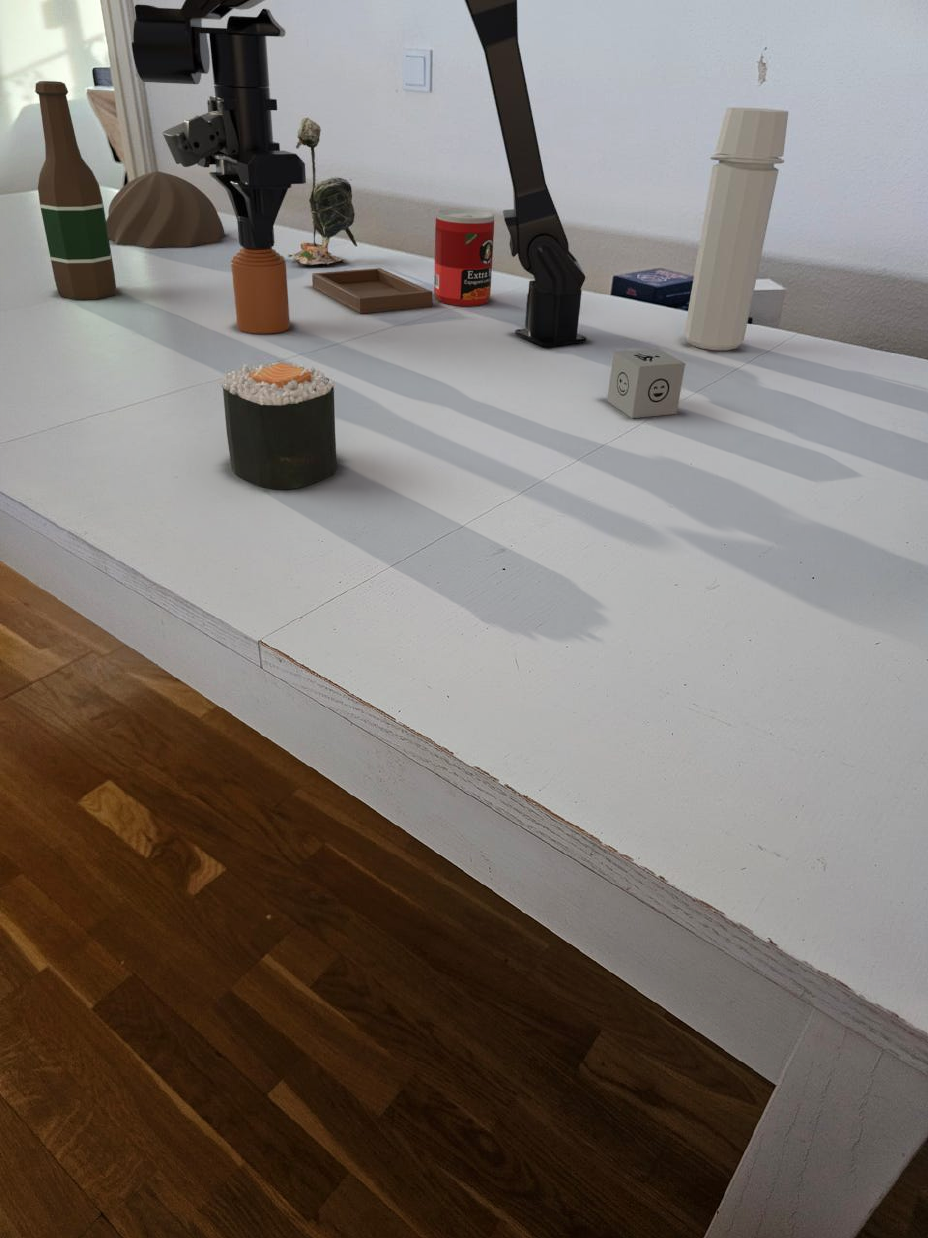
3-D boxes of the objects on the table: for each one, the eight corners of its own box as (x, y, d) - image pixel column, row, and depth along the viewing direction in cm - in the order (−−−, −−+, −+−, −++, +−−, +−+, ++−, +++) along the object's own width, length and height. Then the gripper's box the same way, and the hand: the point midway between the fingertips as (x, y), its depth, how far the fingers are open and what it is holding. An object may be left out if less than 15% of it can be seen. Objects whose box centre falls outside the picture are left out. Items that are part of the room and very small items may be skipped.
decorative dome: (105, 227, 158) (94, 163, 153) (220, 225, 164) (214, 164, 158) (102, 248, 143) (91, 178, 138) (230, 246, 148) (224, 179, 143)
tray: (432, 306, 120) (432, 291, 119) (360, 313, 115) (359, 298, 114) (380, 281, 131) (380, 267, 130) (312, 287, 126) (311, 273, 125)
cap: (279, 247, 103) (277, 217, 101) (246, 249, 101) (243, 218, 99) (267, 241, 106) (265, 211, 104) (235, 243, 104) (232, 213, 102)
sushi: (287, 441, 78) (281, 348, 74) (355, 467, 74) (353, 371, 69) (211, 467, 73) (199, 369, 68) (280, 497, 68) (272, 395, 64)
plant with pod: (365, 266, 139) (362, 119, 129) (291, 268, 136) (283, 117, 125) (354, 256, 146) (350, 115, 135) (283, 257, 143) (274, 113, 132)
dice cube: (607, 401, 90) (613, 351, 88) (650, 397, 92) (658, 348, 89) (631, 418, 86) (639, 366, 84) (676, 413, 88) (685, 362, 85)
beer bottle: (128, 288, 122) (96, 81, 109) (103, 301, 115) (66, 84, 102) (73, 284, 122) (34, 78, 109) (45, 298, 116) (0, 80, 103)
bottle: (297, 330, 107) (291, 221, 101) (247, 335, 105) (237, 224, 98) (279, 318, 112) (271, 213, 106) (230, 323, 109) (219, 216, 103)
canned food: (468, 309, 119) (472, 219, 113) (422, 298, 123) (423, 211, 117) (501, 299, 125) (506, 213, 119) (456, 289, 129) (458, 206, 123)
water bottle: (748, 355, 106) (799, 113, 93) (680, 349, 107) (721, 108, 94) (741, 335, 114) (787, 108, 101) (678, 329, 115) (715, 104, 102)
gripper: (141, 80, 98) (161, 234, 106) (192, 90, 85) (211, 265, 93) (240, 82, 103) (252, 229, 111) (303, 92, 90) (311, 257, 98)
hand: (254, 244), depth 103 cm, fingers closed on cap, 3 cm apart
